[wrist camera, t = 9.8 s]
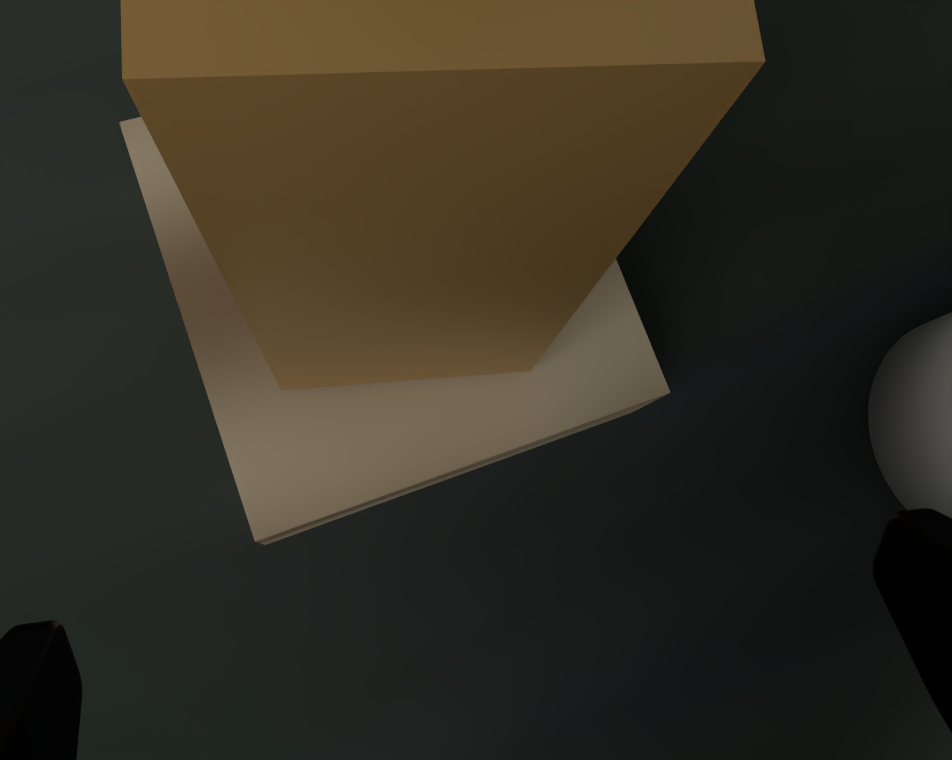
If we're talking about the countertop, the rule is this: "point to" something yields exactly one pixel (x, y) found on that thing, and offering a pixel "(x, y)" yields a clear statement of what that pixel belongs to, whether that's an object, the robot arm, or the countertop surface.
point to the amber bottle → (425, 161)
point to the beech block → (380, 390)
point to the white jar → (916, 417)
